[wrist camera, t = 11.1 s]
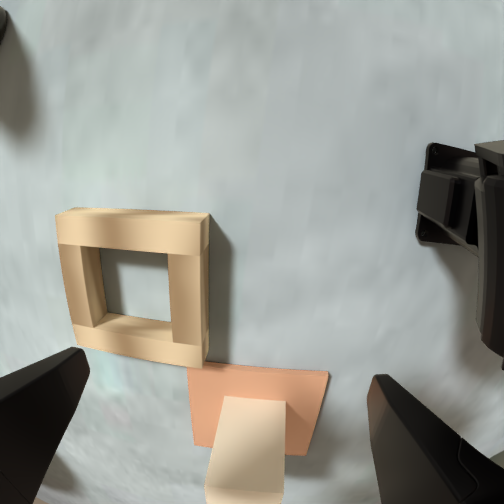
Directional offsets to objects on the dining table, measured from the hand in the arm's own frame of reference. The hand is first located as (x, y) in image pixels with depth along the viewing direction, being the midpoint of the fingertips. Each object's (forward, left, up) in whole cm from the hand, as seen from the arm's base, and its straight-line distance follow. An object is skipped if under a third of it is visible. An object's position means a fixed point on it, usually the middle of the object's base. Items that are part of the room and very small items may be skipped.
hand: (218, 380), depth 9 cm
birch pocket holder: (+8, +3, -13) cm, 16 cm away
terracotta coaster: (-1, +15, -13) cm, 20 cm away
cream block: (-1, +15, -12) cm, 20 cm away
